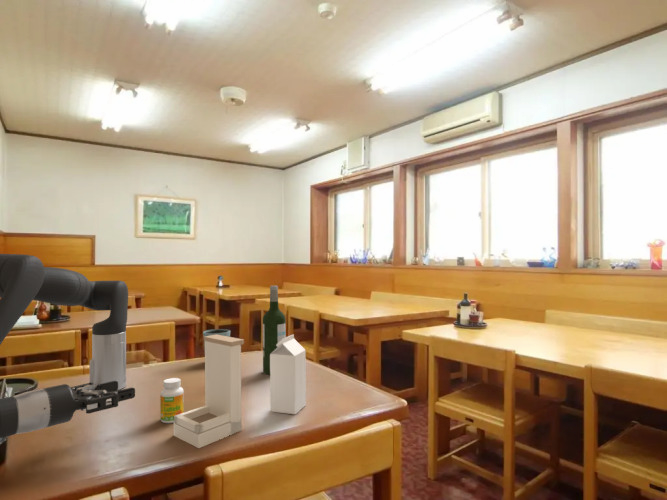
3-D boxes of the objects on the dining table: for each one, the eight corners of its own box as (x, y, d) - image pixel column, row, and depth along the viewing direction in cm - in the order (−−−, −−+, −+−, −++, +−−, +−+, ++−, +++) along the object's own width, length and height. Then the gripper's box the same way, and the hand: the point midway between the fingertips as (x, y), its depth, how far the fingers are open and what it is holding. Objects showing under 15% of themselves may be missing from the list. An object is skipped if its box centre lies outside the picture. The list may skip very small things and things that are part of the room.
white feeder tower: (199, 448, 87) (199, 348, 87) (172, 435, 94) (172, 342, 94) (244, 430, 96) (244, 339, 96) (216, 418, 103) (216, 334, 103)
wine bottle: (266, 368, 149) (266, 285, 149) (288, 369, 148) (287, 285, 148) (260, 374, 141) (259, 286, 141) (282, 375, 140) (281, 286, 140)
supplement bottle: (161, 425, 99) (161, 384, 99) (159, 417, 104) (159, 378, 104) (185, 421, 102) (184, 381, 102) (182, 413, 106) (181, 375, 107)
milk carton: (306, 405, 111) (305, 335, 112) (295, 415, 105) (294, 340, 105) (282, 402, 114) (281, 333, 114) (270, 412, 107) (269, 338, 107)
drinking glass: (204, 367, 151) (204, 334, 151) (201, 360, 161) (201, 329, 161) (232, 364, 155) (232, 332, 155) (228, 358, 165) (228, 327, 165)
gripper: (54, 396, 77) (140, 377, 90) (30, 383, 86) (112, 367, 99) (53, 437, 77) (140, 412, 89) (30, 419, 86) (112, 399, 98)
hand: (125, 388), depth 94 cm, fingers open, 8 cm apart
